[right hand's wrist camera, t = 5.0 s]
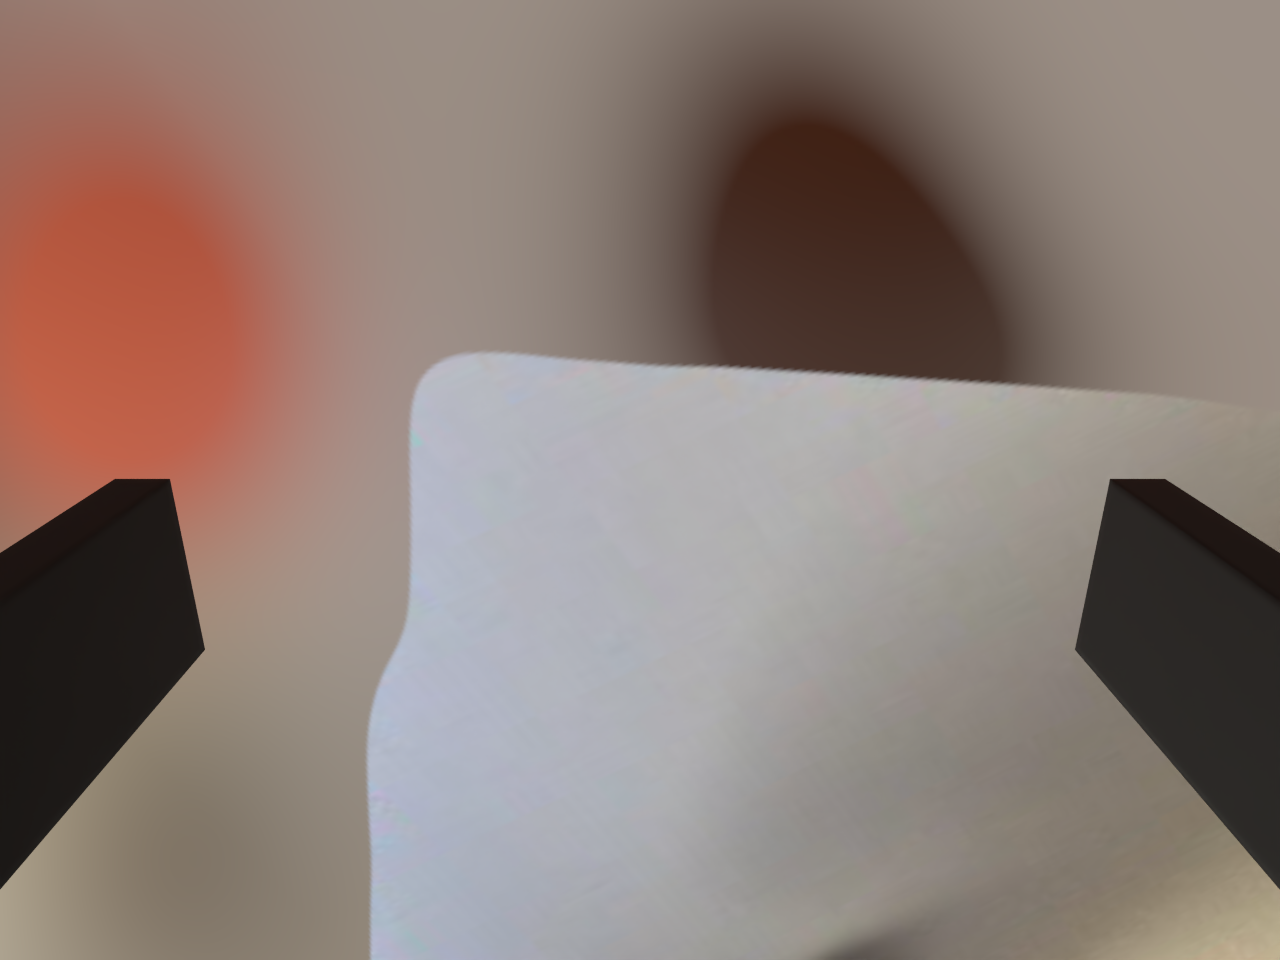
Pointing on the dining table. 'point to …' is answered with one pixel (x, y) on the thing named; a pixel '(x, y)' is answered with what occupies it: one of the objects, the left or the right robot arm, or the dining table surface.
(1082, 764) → the dining table surface
